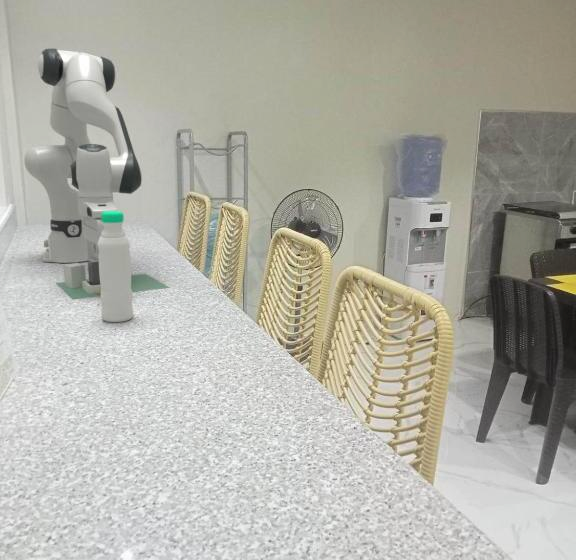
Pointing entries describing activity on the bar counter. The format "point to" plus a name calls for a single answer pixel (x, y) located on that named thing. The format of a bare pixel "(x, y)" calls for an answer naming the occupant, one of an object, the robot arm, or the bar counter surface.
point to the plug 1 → (74, 275)
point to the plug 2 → (93, 272)
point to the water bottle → (115, 269)
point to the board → (137, 284)
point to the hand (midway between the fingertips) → (99, 259)
